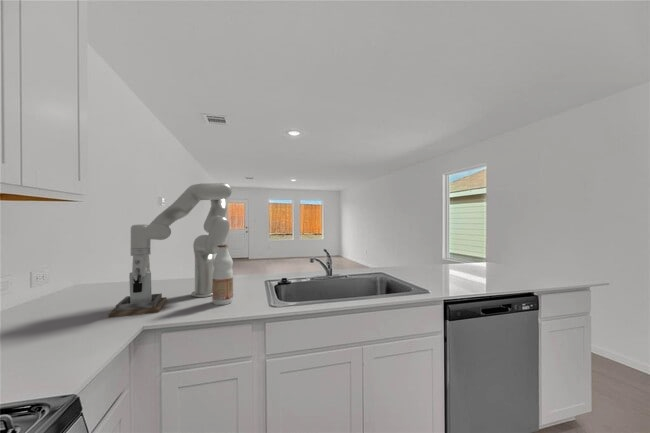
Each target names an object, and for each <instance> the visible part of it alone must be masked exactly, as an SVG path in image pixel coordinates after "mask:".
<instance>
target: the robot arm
mask: <svg viewBox="0 0 650 433" xmlns="http://www.w3.org/2000/svg"><path fill="white" fill-rule="evenodd" d="M232 191H233V190H232V188H231V186H230V185H229V184H228V183H223V182H217V183H213V182H212V183H195V184H194V183H193V184H192V185H189V186H188V187H187V188H186V189H185V191H183V193H182V194H181V195H179V197H178V198H177V199H175V201H174V202H173V203H171V205H169V206H168V207H167V208H166V209H164V210H163V211H161V212H160V214H158V215H157V216H156V217H155V218H154V219H153V220H152V221H151V222H150V223H149V224H132V225H131V227H130V256H131V257H132V264H131V266H132V268H131V269H132V271H131V273H132V276H133V278H134V279H133V280H134V281H133V293H138V292H142V283H141V281H142V277H144V278H145V277H146V273H147V272H148V271H149V270H150V271H151V269H150V268H151V267H150V266H151V265H150V255H151V254H152V253H151V242H152V241H151V240H157V241H163V240H166V239H168V238H169V237H170V236H171V235H172V228H171V227H170V226H171V225H172V224H173V223H175V222H177V221H178V220H180V219H183V218H184V217H186V216H188V215H189V213H190V212H192V210H193V209H194V208H195V207H196V206H197V205H198V203H200V202H201V201H210V208H209V211H208V213H207V216H206V219H205V221H204V223H203V230H204V231H205V232H206V233H208V234H202V235H201V234H200V235H198V236H197V237H196V238H195V239H194V241H193V244H192V246H193V253H194V291H192V292H191V297H193V298H207V297H212V288H213V271H214V267H213V261H214V259H215V256H214V255H217V252H218V245H219V244H225V242H226V238H227V237H228V234H229V232H230V226H231V225H230V222H229V220H228V219H227V218H226V214H227V212H228V211H227V210H228V205H227V204H228V203H227V201H226V200H227V199H228V198H229V197H231V195H232ZM138 275H139V276H138ZM139 279H140V280H139Z"/></svg>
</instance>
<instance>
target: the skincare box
mask: <svg viewBox="0 0 650 433" xmlns="http://www.w3.org/2000/svg"><path fill="white" fill-rule="evenodd" d="M138 276H139V275H138ZM133 279H134V278H133V276H132V272H130V273H129V296H130V304H132V303H143V302H152V294H153V292H152V272H151V269H150V270H149V271H148V272H147V273H146V277H145V278H144V277H142V281H141V283H142V292H138V293H133V281H134V280H133ZM139 280H140V279H139Z"/></svg>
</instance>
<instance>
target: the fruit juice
mask: <svg viewBox="0 0 650 433" xmlns="http://www.w3.org/2000/svg"><path fill="white" fill-rule="evenodd" d="M233 265H234V260H233V258H232V257H231V254H230V252H229V244H227V243H224V244H219V245H218V252H217V253H216V254H215V256H214V261H213V267H214V271H213V288H212V296H211V297H212V304H213V305H217V306H223V305H224V306H225V305H229V304H232V303H233V301H234V270H233Z"/></svg>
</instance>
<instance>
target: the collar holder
mask: <svg viewBox="0 0 650 433" xmlns="http://www.w3.org/2000/svg"><path fill="white" fill-rule="evenodd" d="M162 296H163V294H162V292H161V293H152V302H143V303H132V304H130V295H129V296H127V295H126V296H125V297H124V298H122V299H121V300H120V301H119V302H118V303H117V304H116V305H115V308H113V309H112V310H111V311H109V313H108V318H116V317H115V316H117V317H123V316H124V317H125V315H126V316H134V315H133V314H136V315H143V313H145V314H150V313H151V314H153V313H154V312H155V313H160V311H161V310H162V308H163V307H164V305H165V303H166V302H167V301H168V300H167V299H168V298H167V297H162Z"/></svg>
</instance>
